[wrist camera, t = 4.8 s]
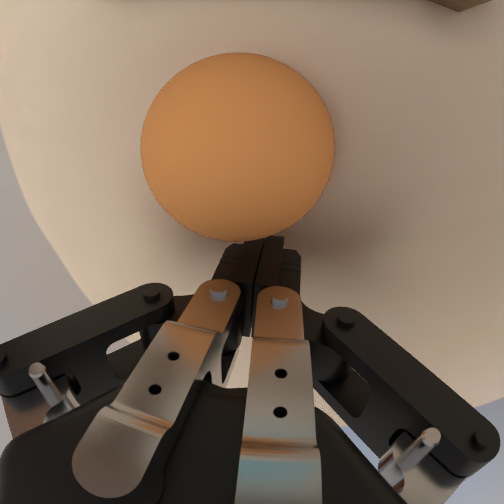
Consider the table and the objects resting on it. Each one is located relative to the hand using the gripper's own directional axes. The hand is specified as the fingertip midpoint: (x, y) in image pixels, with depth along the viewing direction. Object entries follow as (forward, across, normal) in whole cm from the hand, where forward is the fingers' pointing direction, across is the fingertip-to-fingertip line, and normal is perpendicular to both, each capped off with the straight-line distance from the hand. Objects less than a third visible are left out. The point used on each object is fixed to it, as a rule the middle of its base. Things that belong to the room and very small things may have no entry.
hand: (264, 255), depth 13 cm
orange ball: (-2, +1, -5) cm, 5 cm away
